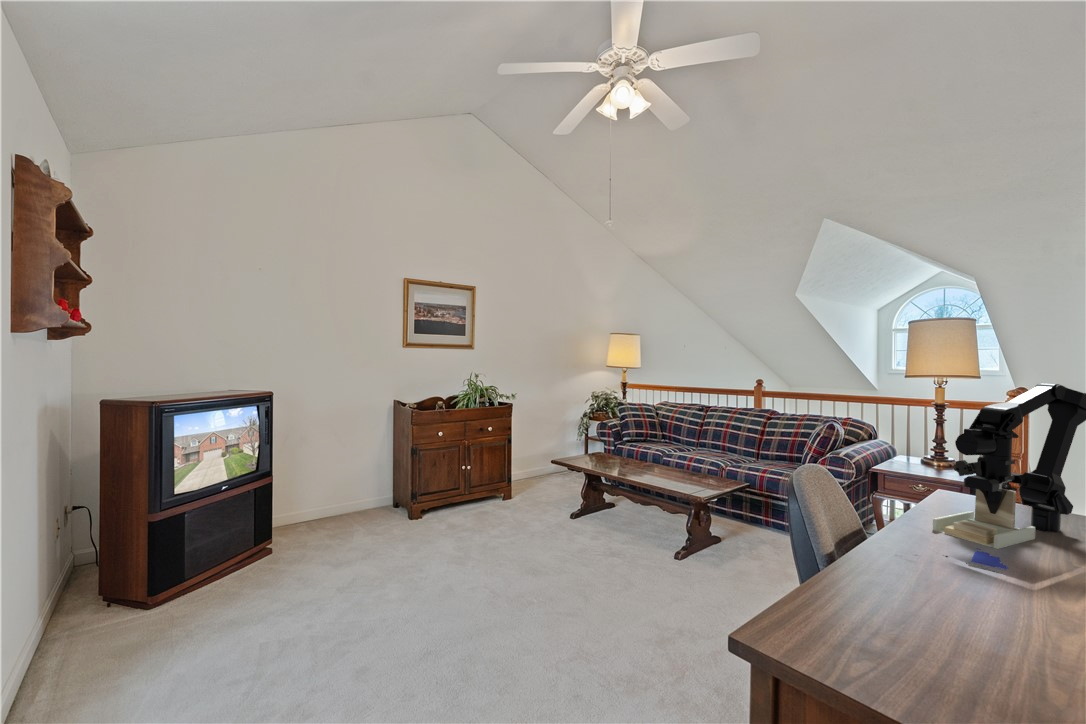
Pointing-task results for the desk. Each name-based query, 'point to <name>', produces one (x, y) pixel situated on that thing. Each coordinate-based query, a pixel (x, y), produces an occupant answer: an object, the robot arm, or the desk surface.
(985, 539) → the offcut bottom
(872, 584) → the desk surface
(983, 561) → the hard drive
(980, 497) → the birch sheet
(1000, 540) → the rack
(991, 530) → the offcut top
